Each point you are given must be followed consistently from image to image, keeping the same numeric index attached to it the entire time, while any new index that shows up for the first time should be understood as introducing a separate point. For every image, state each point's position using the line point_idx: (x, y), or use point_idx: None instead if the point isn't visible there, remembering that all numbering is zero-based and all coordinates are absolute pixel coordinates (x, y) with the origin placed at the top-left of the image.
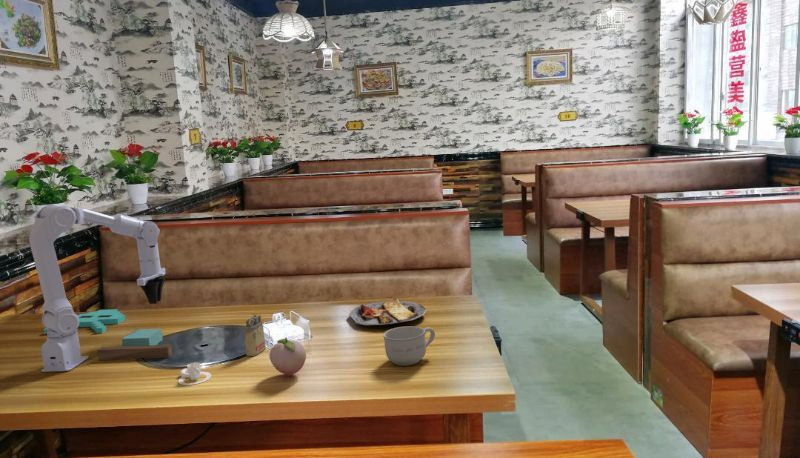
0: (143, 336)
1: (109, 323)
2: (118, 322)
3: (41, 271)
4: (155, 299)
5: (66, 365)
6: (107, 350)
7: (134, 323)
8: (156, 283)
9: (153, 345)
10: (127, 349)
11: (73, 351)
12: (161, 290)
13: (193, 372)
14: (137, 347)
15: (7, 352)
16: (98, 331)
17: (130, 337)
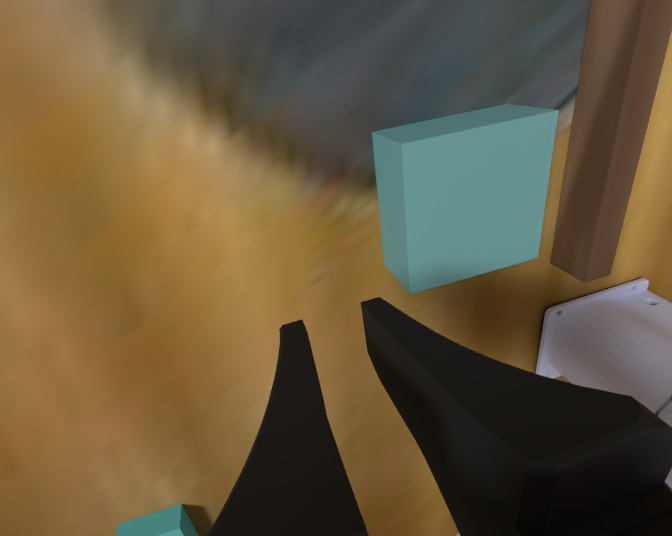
0: (528, 163)
1: (193, 528)
2: (176, 510)
3: None
4: (406, 316)
5: (651, 296)
6: (615, 236)
7: (154, 456)
8: (654, 418)
9: (646, 6)
10: (639, 143)
11: (649, 325)
12: (283, 396)
13: None
14: (642, 98)
15: (456, 533)
16: None
17: (528, 228)
